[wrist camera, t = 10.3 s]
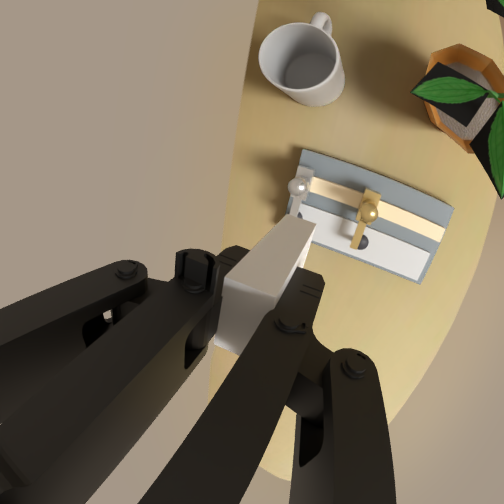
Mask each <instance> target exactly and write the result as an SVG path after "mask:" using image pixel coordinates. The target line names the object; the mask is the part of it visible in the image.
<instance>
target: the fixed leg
mask: <svg viewBox="0 0 504 504" xmlns="http://www.w3.org/2000/svg"><path fill="white" fill-rule="evenodd" d="M315 172H316V169H313V168H309V167H306V166H303V165H299V166H298V169H297V173H296V176H295V178H294V179H292V180H291V181H290V182H289V183H288V190H289V192H290V193H291V195H290V196H291V197H294V199H293V202H292V206H291V210H290V213H289V215H292V216H295V217H297V216H298V213H299V209H300V206H301V202H302V200H303V201H306V200H307V199H308V196H309V193H310V189H311V186H312V182H313V179H314V175H315Z"/></svg>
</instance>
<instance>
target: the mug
mask: <svg viewBox="0 0 504 504" xmlns="http://www.w3.org/2000/svg"><path fill="white" fill-rule="evenodd" d="M331 34H332V22H331V19H330V17H329V16H328V15H327V14H326V13H324V12H317V13H315V14H314V16H313V18H312V20H311V22H310V24H308V23H289V24H285V25H282V26H280V27H278V28H276V29H275V30H273V31H272V32H270V33H269V34H268V35H267V36H266V38H265V39H264V40H263V42H262V44H261V46H260V49H259V54H258V60H259V65H260V69H261V71H262V73H263V74H264V76H265V77H266V78H267V80H268V81H270V82H271V83H272V84H273V85H274V86H276V87H277V88H279V89H280V90H282V91H283V92H285V93H286V94H287V95H289V96H290V97H291V98H293V99H294V100H295V101H297V102H299V103H301V104H303V105H306V106H311V107H320V106H324V105H328V104H330V103H332V102H333V101H335V100H336V99H337V98H338V97H339V96H340V94H341V93H342V91H343V89H344V85H345V74H344V71H343V67H342V62H341V58H340V53H339V50H338V47H337V45H336V43H335V41H334V40H333V38H332V37H331Z"/></svg>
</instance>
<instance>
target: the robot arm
mask: <svg viewBox="0 0 504 504" xmlns="http://www.w3.org/2000/svg"><path fill="white" fill-rule="evenodd" d="M316 225H317V224H316V223H313V222H310V221H307V220H304V219H301V218H298V217H295V216H292V215H289V214H286V215H285V216H284V217H283V218H282V219H281V220H280V221H279V222H278V223H277V224H276V225H275V226H274V227H273V228H272V229H271V230H270V231H269V232H268V233H267V234H266V235H265V236H264V237H263V238H262V239H261V240H260V241H259V242H258V243H257V244H256V245H255V246H254V247H253V248H252V249H251V250H248V249H245V248H243V247H240V246H237V245H235V246H232V247H229V248H226V249H225V250H223V251H222V252H221V253H220V254H219V255H217V256H215V255H214V254H212V253H210V252H208V251H204V250H200V249H185V250H181V251H178V252H176V261H175V277H174V278H173V279H171V280H170V281H169V282H166V281H160V280H155V279H151V278H148V274H147V268H146V267H145V266H144V265H143V264H142V263H139V262H138V261H133V260H121V261H117V262H114V263H111V264H109V265H106V266H104V267H101V268H98V269H96V270H93V271H91V272H88V273H86V274H83V275H80V276H78V277H76V278H73V279H70V280H68V281H65V282H63V283H60V284H58V285H56V286H53V287H51V288H48V289H46V290H43V291H41V292H39V293H37V294H34V295H32V296H29V297H27V298H25V299H22V300H20V301H18V302H15V303H13V304H11V305H8V306H6V307H4V308H2V309H0V424H1V423H2V424H1V425H0V504H85V503H86V502H87V501H88V500H89V498H90V497H91V496H92V495H93V494H94V493H95V491H96V490H97V489H98V488H99V486H101V484H102V483H103V482H104V481H105V480H106V478H107V477H108V476H109V475H110V474H111V473H112V471H113V470H114V469H115V468H116V467H117V465H118V464H119V463H120V462H121V461H122V459H123V458H124V457H125V455H126V454H127V453H128V452H129V451H130V449H131V448H132V447H133V446H134V445H135V443H136V442H137V441H138V440H139V438H140V437H141V436H142V435H143V434H144V432H145V431H146V430H147V429H148V427H149V426H150V425H151V424H152V422H153V421H154V420H155V419H156V417H157V416H158V414H160V412H161V411H162V410H163V408H164V407H165V406H166V405H167V404H168V402H169V401H170V400H171V398H172V397H173V396H174V395H175V393H176V392H177V391H178V389H179V388H180V387H181V385H182V384H183V383H184V382H185V380H186V379H187V378H188V377H189V375H190V374H191V372H192V371H193V370H194V369H195V367H196V366H197V365H198V364H199V362H200V361H201V360H202V358H203V357H204V356H205V354H206V352H207V349H208V343H209V341H210V340H211V338H212V337H213V336H214V334H215V339H214V344H215V345H217V346H219V347H222V348H224V349H226V350H228V351H230V352H233V353H235V354H237V355H240V356H239V358H238V360H237V361H236V363H235V364H234V366H233V368H232V369H231V371H230V372H229V374H228V375H227V377H226V378H225V380H224V382H223V383H222V385H221V386H220V388H219V389H218V391H217V392H216V394H215V395H214V397H213V398H212V400H211V401H210V403H209V404H208V406H207V407H206V409H205V410H204V412H203V413H202V415H201V416H200V418H199V419H198V421H197V422H196V424H195V425H194V427H193V428H192V430H191V431H190V433H189V434H188V435H187V437H186V438H185V440H184V441H183V443H182V444H181V446H180V447H179V448H178V450H177V451H176V453H175V454H174V455H173V457H172V458H171V460H170V461H169V462H168V464H167V465H166V466H165V468H164V469H163V471H162V472H161V474H160V475H159V476H158V478H157V479H156V480H155V481H154V483H153V484H152V485H151V487H150V488H149V489H148V491H147V492H146V493H145V495H144V496H143V497H142V499H141V500H140V501H139V503H138V504H239V503H240V501H241V499H242V497H243V495H244V494H245V491H246V490H247V488H248V486H249V484H250V482H251V480H252V478H253V476H254V474H255V472H256V469H257V467H258V465H259V463H260V461H261V459H262V457H263V455H264V453H265V450H266V448H267V446H268V444H269V442H270V439H271V437H272V435H273V432H274V430H275V428H276V425H277V423H278V421H279V418H280V416H281V414H282V411H283V409H284V406H285V405H286V406H287V407H289V408H290V409H292V410H293V411H294V412H296V413H297V415H296V429H295V443H294V456H293V468H292V479H291V490H290V499H289V504H396V491H395V480H394V469H393V461H392V452H391V445H390V438H389V431H388V425H387V419H386V413H385V407H384V402H383V397H382V391H381V387H380V382H379V377H378V372H377V369H376V367H375V364H374V362H373V361H372V360H371V359H370V358H369V357H368V356H367V355H365V354H364V353H362V352H361V351H358V350H355V349H351V348H343V349H340V350H337V351H335V352H332V351H331V350H329V349H327V348H326V347H325V346H323V345H322V344H321V343H320V342H319V341H318V340H317V339H316V337H315V335H314V333H313V329H312V326H313V321H314V318H315V315H316V312H317V309H318V306H319V302H320V299H321V296H322V292H323V289H324V286H325V282H324V279H323V277H322V275H320V274H317V273H314V272H312V271H309V270H306V269H303V266H304V263H305V260H306V257H307V253H308V250H309V247H310V244H311V241H312V238H313V234H314V231H315V228H316ZM108 310H111V316H112V317H111V318H109V319H104V316H103V313H104V312H106V311H108Z"/></svg>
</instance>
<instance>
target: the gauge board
mask: <svg viewBox="0 0 504 504" xmlns="http://www.w3.org/2000/svg"><path fill="white" fill-rule="evenodd" d="M299 165H303V166H306V167H309V168H313V169H316V172H315V175H314V179H313V182H312V186H311V189H310V193H309V196H308V199H307V200H306V201H303V200H302V202H301V206H300V209H299V213H298V216H297V217H298V218H301V219H304V220H307V221H310V222H313V223H316V224H317V225H316V228H315V231H314V234H313V238H312V241H311V243H314V244H316V245H319V246H322V247H325V248H327V249H330V250H333V251H335V252H338V253H341V254H343V255H346V256H348V257H351V258H354V259H356V260H359V261H362V262H364V263H367V264H369V265H372V266H375V267H377V268H380V269H382V270H385V271H387V272H390V273H392V274H395V275H397V276H400V277H402V278H405V279H407V280H410V281H412V282H415V283H417V284H421V282H422V280H423V278H424V276H425V274H426V272H427V270H428V268H429V266H430V264H431V262H432V260H433V258H434V256H435V254H436V251H437V249H438V247H439V245H440V242H441V240H442V238H443V235H444V233H445V231H446V228H447V226H448V223H449V221H450V218H451V216H452V213H453V210H454V208H453V207H452V206H451V205H449V204H447V203H445V202H443V201H441V200H439V199H437V198H434V197H432V196H430V195H428V194H426V193H424V192H421V191H419V190H417V189H415V188H412V187H410V186H408V185H405V184H403V183H401V182H398V181H396V180H393V179H391V178H388V177H386V176H383V175H381V174H378V173H375V172H373V171H370V170H367V169H365V168H362V167H359V166H356V165H354V164H351V163H348V162H345V161H342V160H339V159H336V158H333V157H330V156H327V155H324V154H320V153H317V152H314V151H311V150H307V149H303V150H302V154H301V158H300V161H299ZM299 165H298V166H299ZM365 187H367V188H369V189H372V190H375V191H377V192H380V193H381V198H380V200H379V203H378V206H377V210H378V217H377V219H376V220H375V221H374V222H372V223H371V225H368V224H367V225H366V227H365V230H364V233H363V235H362V238H361V241H360V243H359V246H358V248H357V250H355V249H352V248H350V243H351V241H352V238H353V235H354V233H355V230H356V227H357V225H358V222H359V221H357V220H355V219H356V214H357V211H358V208H359V205H360V202H361V199H362V196H363V193H364V190H365ZM293 199H294V197H291V196H290V199H289V202H288V206H287V210H286V213H285V215H286V214H289V213H290V210H291V206H292V202H293Z"/></svg>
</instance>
